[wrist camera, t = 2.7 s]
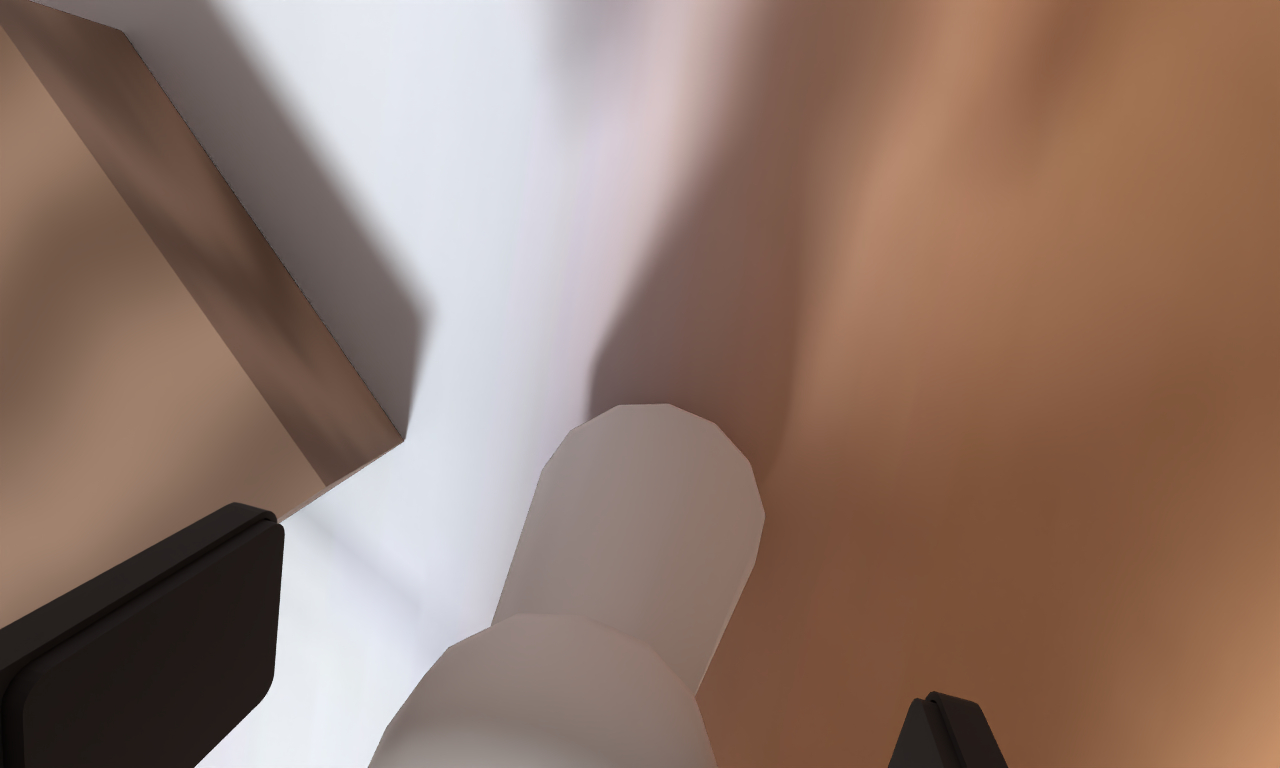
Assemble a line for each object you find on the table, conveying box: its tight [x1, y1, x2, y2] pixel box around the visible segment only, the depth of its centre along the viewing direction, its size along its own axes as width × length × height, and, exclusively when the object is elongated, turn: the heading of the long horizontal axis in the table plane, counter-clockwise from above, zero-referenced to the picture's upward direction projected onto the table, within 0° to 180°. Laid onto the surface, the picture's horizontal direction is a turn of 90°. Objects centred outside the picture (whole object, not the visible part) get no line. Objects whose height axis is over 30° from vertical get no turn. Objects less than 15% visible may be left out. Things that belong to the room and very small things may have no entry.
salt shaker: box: [368, 403, 766, 768], centre depth 14 cm, size 6×6×13 cm
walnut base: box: [0, 0, 404, 629], centre depth 20 cm, size 14×14×4 cm
